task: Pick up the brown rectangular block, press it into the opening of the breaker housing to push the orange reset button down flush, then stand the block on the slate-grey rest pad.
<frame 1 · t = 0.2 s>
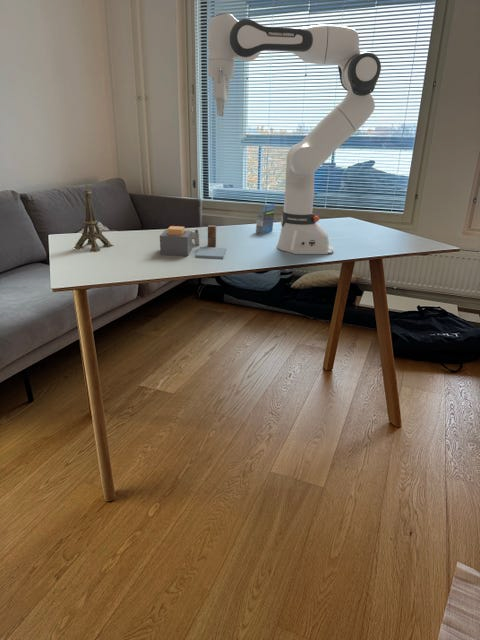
hand: (220, 115, 152), 47 cm above the table, tool pointing down, fingers open, 8 cm apart
rest pad: (211, 253, 159), on the table
reset button: (176, 231, 156), point 7 cm above the table, slide at 0.0 cm
brown rectangular block: (211, 246, 169), on the table
eiffel tower: (93, 247, 161), on the table
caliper: (190, 240, 177), on the table
label tape box: (264, 232, 196), on the table
breaker housing: (176, 251, 159), on the table
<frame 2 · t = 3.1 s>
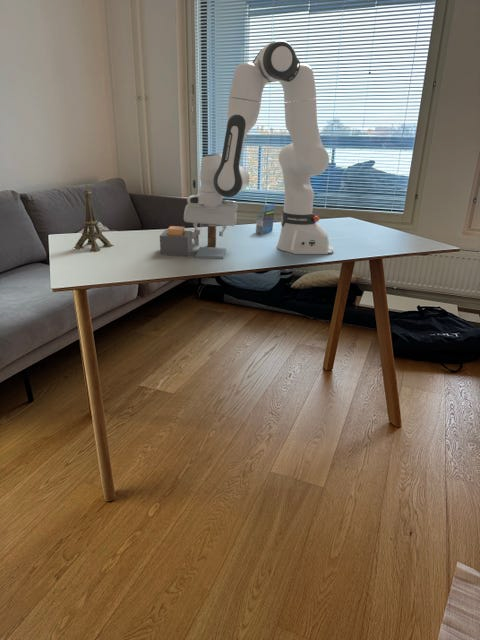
hand: (209, 235, 167), 4 cm above the table, tool pointing down, fingers open, 8 cm apart
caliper: (190, 240, 178), on the table, touching gripper
everything else where it was.
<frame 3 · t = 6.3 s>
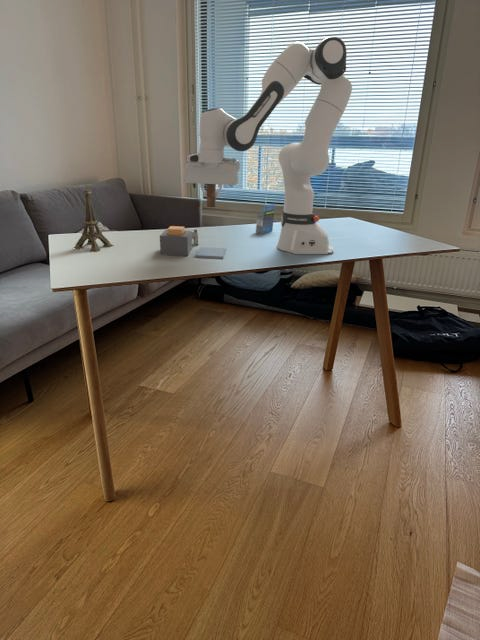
hand: (211, 196, 161), 19 cm above the table, tool pointing down, fingers closed on brown rectangular block, 3 cm apart
brown rectangular block: (211, 206, 162), point 16 cm above the table, touching gripper
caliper: (189, 240, 178), on the table
everything else where it was.
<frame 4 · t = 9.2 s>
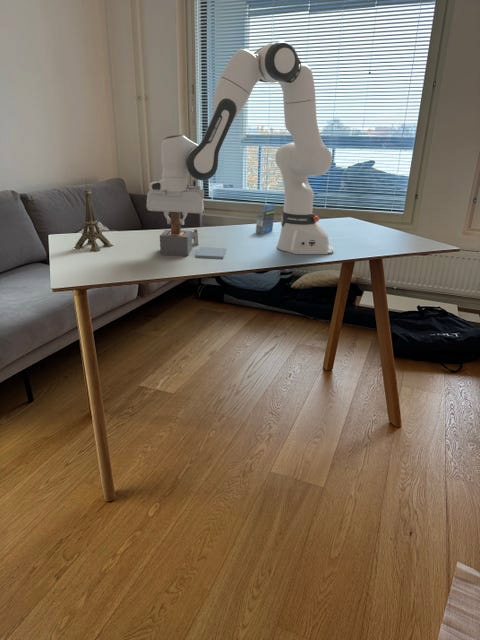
hand: (175, 224, 155), 10 cm above the table, tool pointing down, fingers closed on brown rectangular block, 3 cm apart
reset button: (176, 237, 157), point 5 cm above the table, slide at 2.1 cm, touching brown rectangular block
brown rectangular block: (176, 233, 156), point 7 cm above the table, touching gripper, reset button
everything else where it was.
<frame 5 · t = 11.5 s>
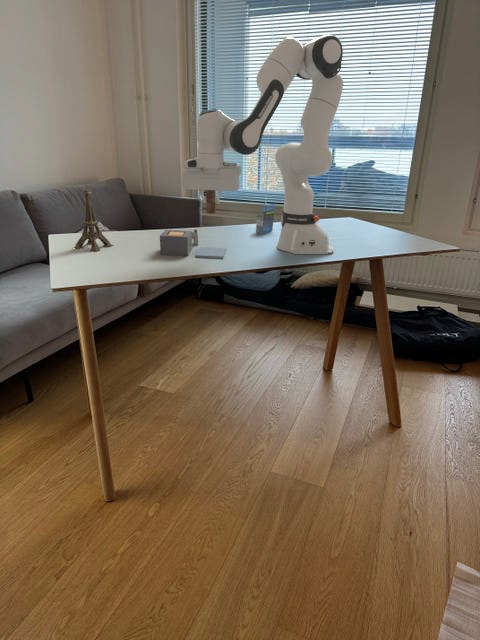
hand: (211, 203, 151), 18 cm above the table, tool pointing down, fingers closed on brown rectangular block, 3 cm apart
reset button: (176, 237, 157), point 5 cm above the table, slide at 2.1 cm
brown rectangular block: (211, 212, 153), point 15 cm above the table, touching gripper
everything else where it was.
when the fingers open (5 cm above the table, at t = 13.7 s): brown rectangular block drops 1 cm, resting on rest pad.
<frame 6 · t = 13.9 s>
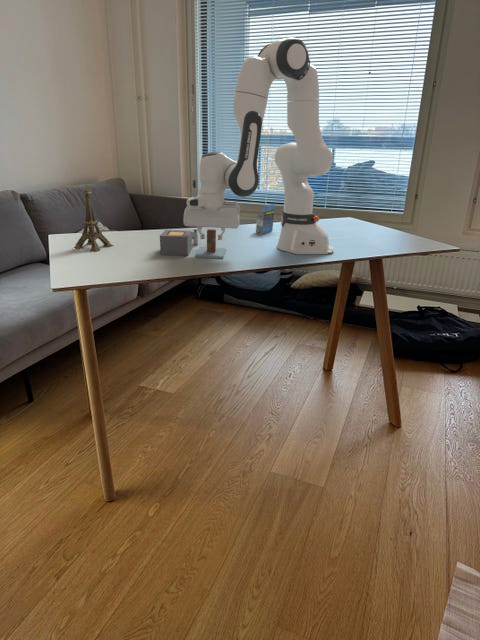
hand: (211, 239, 156), 5 cm above the table, tool pointing down, fingers open, 5 cm apart
brown rectangular block: (211, 251, 158), point 1 cm above the table, touching rest pad
everything else where it was.
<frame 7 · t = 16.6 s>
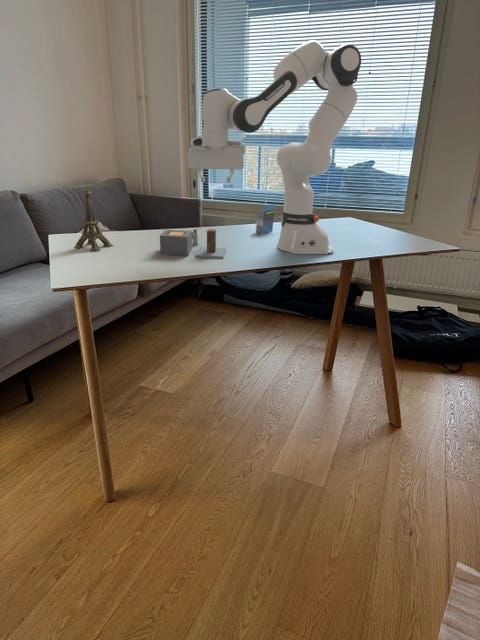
hand: (215, 182, 154), 25 cm above the table, tool pointing down, fingers open, 8 cm apart
nothing on the table moved.
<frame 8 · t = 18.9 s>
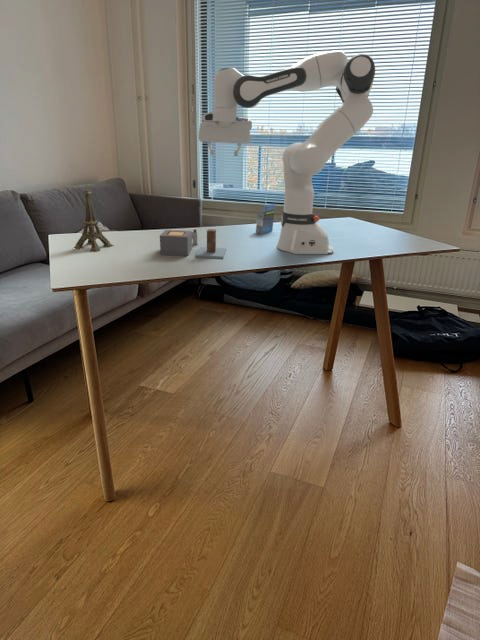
hand: (224, 155, 169), 33 cm above the table, tool pointing down, fingers open, 8 cm apart
nothing on the table moved.
at the end: reset button slide at 2.1 cm; brown rectangular block inside the target area on the rest pad (0.0 cm from its centre), point 0.8 cm above the rest pad's base; brown rectangular block tilted 0° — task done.
